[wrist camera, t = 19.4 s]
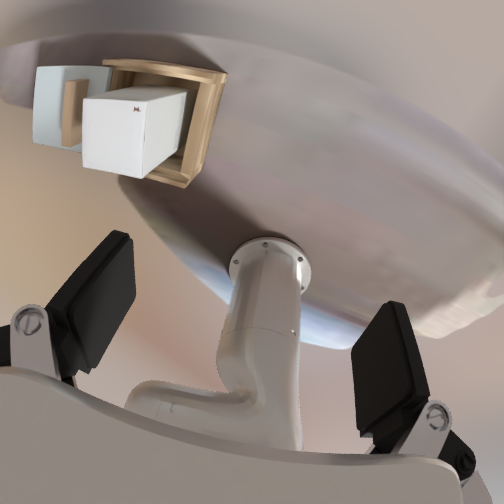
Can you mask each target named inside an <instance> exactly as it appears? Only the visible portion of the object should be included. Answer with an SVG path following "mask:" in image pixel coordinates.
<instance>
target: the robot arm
mask: <svg viewBox="0 0 504 504" xmlns="http://www.w3.org/2000/svg"><path fill="white" fill-rule="evenodd" d="M265 242H266V243H265ZM229 274H230V278H231V280H232V282H233V284H234V289H233V293H232V297H231V300H230V304H229V308H228V311H227V315H226V319H225V322H224V326H223V330H222V333H221V337H220V341H219V345H218V349H217V353H216V365H217V370H218V373H219V376H220V378H221V380H222V382H223V384H224V385H225V387H226V389H227V390H228V392H229V393H223V392H213V391H208V390H202V389H197V388H193V387H188V386H183V385H179V384H174V383H170V382H164V381H157V380H150V381H145V382H142V383H140V384H139V385H137V386H136V387H135V388H134V389H133V390H132V391H131V393H130V394H129V396H128V398H127V401H126V403H125V407H124V409H123V408H120V407H118V406H116V405H113V404H110V403H108V402H106V401H103V400H101V399H99V398H96V397H94V396H91V395H90V394H87V393H85V392H83V391H81V390H79V389H78V387H77V384H76V379H75V375H76V373H77V371H78V370H81V371H83V372H85V373H87V374H89V373H90V371H91V369H92V368H96V367H97V366H98V364H99V362H100V360H101V358H102V356H103V354H104V353H105V351H106V349H107V347H108V345H109V344H110V342H111V340H112V338H113V336H114V335H115V333H116V331H117V329H118V328H119V326H120V324H121V322H122V321H123V319H124V317H125V315H126V314H127V312H128V310H129V308H130V307H131V305H132V304H133V302H134V299H135V297H136V285H135V270H134V252H133V240H132V239H131V238H130V236H129V234H128V233H124V232H121V231H117V230H113V231H112V232H111V233H110V234H109V235H108V236H107V237H106V238H105V239H104V240H103V241H102V242H101V243H100V244H99V245H98V246H97V248H96V249H95V250H94V251H93V252H92V253H91V254H90V255H89V256H88V258H87V259H86V260H84V261H83V262H82V263H81V264H80V266H79V267H78V268H77V269H76V270H75V271H74V272H73V274H72V275H71V276H70V277H69V278H68V280H67V281H66V282H65V283H64V285H63V286H62V287H61V288H60V289H59V290H58V292H57V293H56V294H55V295H54V297H53V298H52V299H51V300H50V302H49V303H48V304H47V305H46V307H45V308H43V307H41V306H40V305H36V304H28V305H25V306H23V307H21V308H20V309H18V310H17V311H16V312H15V313H14V315H13V317H12V319H11V324H10V325H6V326H3V327H0V504H492V499H491V496H490V494H489V492H488V490H487V488H486V486H485V484H484V482H483V481H482V478H481V476H480V475H479V473H478V471H474V470H475V466H476V460H475V455H474V453H473V451H472V450H471V449H470V448H469V447H468V446H467V445H466V444H465V443H464V442H463V441H462V440H461V439H460V438H459V437H458V436H457V435H456V434H455V433H454V432H453V431H452V430H451V429H450V428H451V425H452V417H451V413H450V411H449V409H448V407H447V406H446V405H445V404H444V403H442V402H441V401H438V400H431V401H428V397H429V396H430V392H429V387H428V383H427V379H426V375H425V371H424V367H423V363H422V360H421V356H420V353H419V349H418V345H417V342H416V339H415V335H414V332H413V329H412V326H411V323H410V320H409V317H408V314H407V311H406V308H405V305H404V304H403V303H399V302H395V301H388V302H387V303H384V304H383V305H382V306H381V308H380V309H379V311H378V312H377V314H376V315H375V317H374V318H373V320H372V321H371V322H370V324H369V325H368V327H367V328H366V329H365V331H364V332H363V334H362V335H361V336H360V338H359V339H358V340H357V342H356V343H355V344H354V346H353V348H352V351H351V360H352V370H353V380H354V393H355V407H356V424H357V429H358V430H360V437H368V438H370V437H371V438H372V437H373V444H372V445H371V446H370V447H369V449H368V450H367V451H366V453H365V454H331V453H314V452H303V431H302V424H301V415H300V406H299V386H298V385H299V350H300V318H301V294H302V293H303V292H304V291H305V290H306V289H307V287H308V285H309V283H310V280H311V266H310V262H309V260H308V258H307V256H306V254H305V253H304V252H303V251H302V250H301V249H300V248H299V247H298V246H296V245H295V244H293V243H291V242H289V241H287V240H284V239H281V238H276V237H261V238H255V239H252V240H250V241H247V242H246V243H244V244H243V245H241V246H240V247H239V248H238V249H237V250H236V251H235V253H234V254H233V256H232V259H231V262H230V266H229Z"/></svg>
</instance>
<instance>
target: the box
mask: <svg viewBox="0 0 504 504" xmlns="http://www.w3.org/2000/svg"><path fill="white" fill-rule="evenodd" d="M102 65H108V67H113V71H112V76H111V82H110V88H109V92H110V91H114V90H119V89H124V88H128V87H133V86H139V85H144V84H151V85H162V86H172V87H180V88H188V89H195V90H196V95H195V101H194V107H193V113H192V120H191V124H190V129H189V133H188V138H187V142H186V144H185V145H184V146H182V147H181V148H180V149H178V150H177V151H176V152H174V153H173V154H172V155H171V156H169V157H168V158H167V159H165V160H164V161H163V162H162V163H160V164H159V165H158V166H157V167H155V168H154V169H153V170H152V171H150V172H149V173H148V174H147V175H146V176H145V178H149V179H153V180H156V181H160V182H163V183H167V184H170V185H174V186H177V187H180V188H184V189H185V188H186V187H187V186H188V184H189V183H190V182H191V181H192V180H193V179H194V178H195V176H196V175H197V174H198V173H199V172H200V171H201V170H202V169H203V166H204V162H205V158H206V153H207V149H208V145H209V141H210V137H211V133H212V129H213V126H214V122H215V118H216V114H217V111H218V107H219V103H220V100H221V96H222V92H223V89H224V86H225V82H226V79H227V75H228V74H227V73H223V72H218V71H213V70H209V69H204V68H198V67H193V66H187V65H181V64H175V63H168V62H160V61H152V60H143V59H107V60H103V62H102Z"/></svg>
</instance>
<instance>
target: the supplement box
mask: <svg viewBox="0 0 504 504" xmlns="http://www.w3.org/2000/svg"><path fill="white" fill-rule="evenodd" d="M195 95H196V90H195V89H188V88H180V87H172V86H162V85H151V84H144V85H139V86H133V87H128V88H124V89H119V90H114V91H110V92H106V93H102V94H98V95H94V96H90V97H87V98H84V99H83V113H82V163H83V164H82V165H83V167H85V168H91V169H97V170H102V171H107V172H112V173H117V174H121V175H126V176H130V177H135V178H139V179H142V178H143V177H145V176H146V175H147V174H148V173H149V172H150V171H152V170H153V169H154V168H155V167H157V166H158V165H159V164H160V163H162V162H163V161H164V160H165V159H167V158H168V157H169V156H171V155H172V154H173V153H174V152H176V151H177V150H178V149H180V148H181V147H182V146H184V145H185V144H186V142H187V138H188V133H189V129H190V124H191V120H192V113H193V107H194V101H195Z"/></svg>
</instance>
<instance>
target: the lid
mask: <svg viewBox="0 0 504 504" xmlns="http://www.w3.org/2000/svg"><path fill="white" fill-rule="evenodd" d="M112 71H113V67H104V66H40V67H37V73H36V81H35V92H34V105H33V143H37V144H42V145H46V146H51V147H56V148H60V149H65V150H70V151H74V152H78V153H82V113H83V99H84V98H87V97H90V96H94V95H98V94H102V93H106V92H109V88H110V82H111V76H112Z"/></svg>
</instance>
